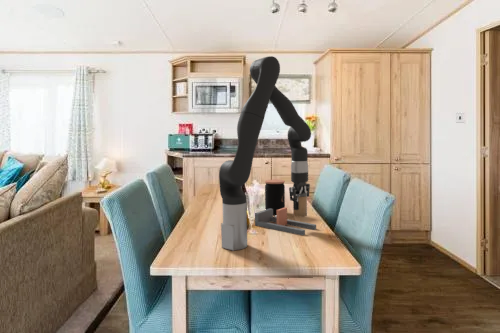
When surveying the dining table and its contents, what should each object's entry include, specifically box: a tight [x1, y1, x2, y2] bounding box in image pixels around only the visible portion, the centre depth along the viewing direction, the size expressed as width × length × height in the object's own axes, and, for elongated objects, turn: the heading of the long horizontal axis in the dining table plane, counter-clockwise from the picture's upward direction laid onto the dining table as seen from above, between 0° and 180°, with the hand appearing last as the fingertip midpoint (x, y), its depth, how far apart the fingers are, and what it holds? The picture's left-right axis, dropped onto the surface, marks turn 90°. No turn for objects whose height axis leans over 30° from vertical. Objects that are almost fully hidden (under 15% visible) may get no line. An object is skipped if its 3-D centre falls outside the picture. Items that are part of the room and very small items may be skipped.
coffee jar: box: [264, 179, 286, 216], centre depth 174 cm, size 11×11×18 cm
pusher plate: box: [274, 206, 288, 226], centre depth 150 cm, size 4×7×8 cm, turn 140°
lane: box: [254, 208, 317, 236], centre depth 148 cm, size 26×12×6 cm, turn 50°
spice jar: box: [292, 193, 308, 218], centre depth 142 cm, size 6×6×10 cm
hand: (299, 208), depth 142 cm, fingers closed on spice jar, 6 cm apart
